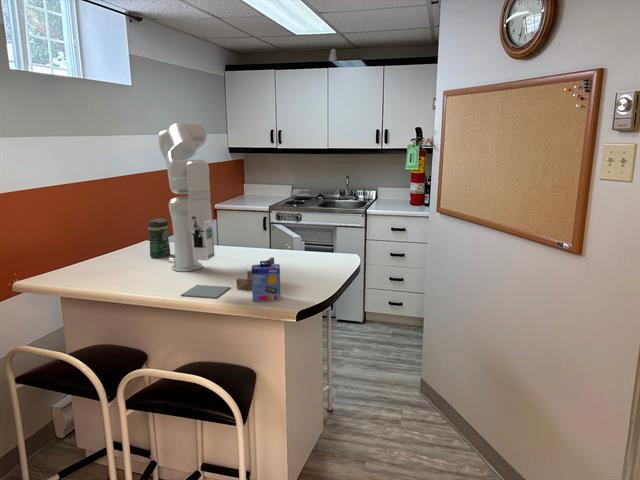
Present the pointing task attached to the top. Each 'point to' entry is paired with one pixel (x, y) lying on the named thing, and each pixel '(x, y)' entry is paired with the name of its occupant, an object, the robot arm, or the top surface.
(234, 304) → the top surface
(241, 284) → the stair flight
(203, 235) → the syrup box
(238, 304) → the top surface
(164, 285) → the top surface
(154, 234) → the coffee jar
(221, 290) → the grey mat
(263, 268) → the ink cartridge box
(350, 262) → the top surface
